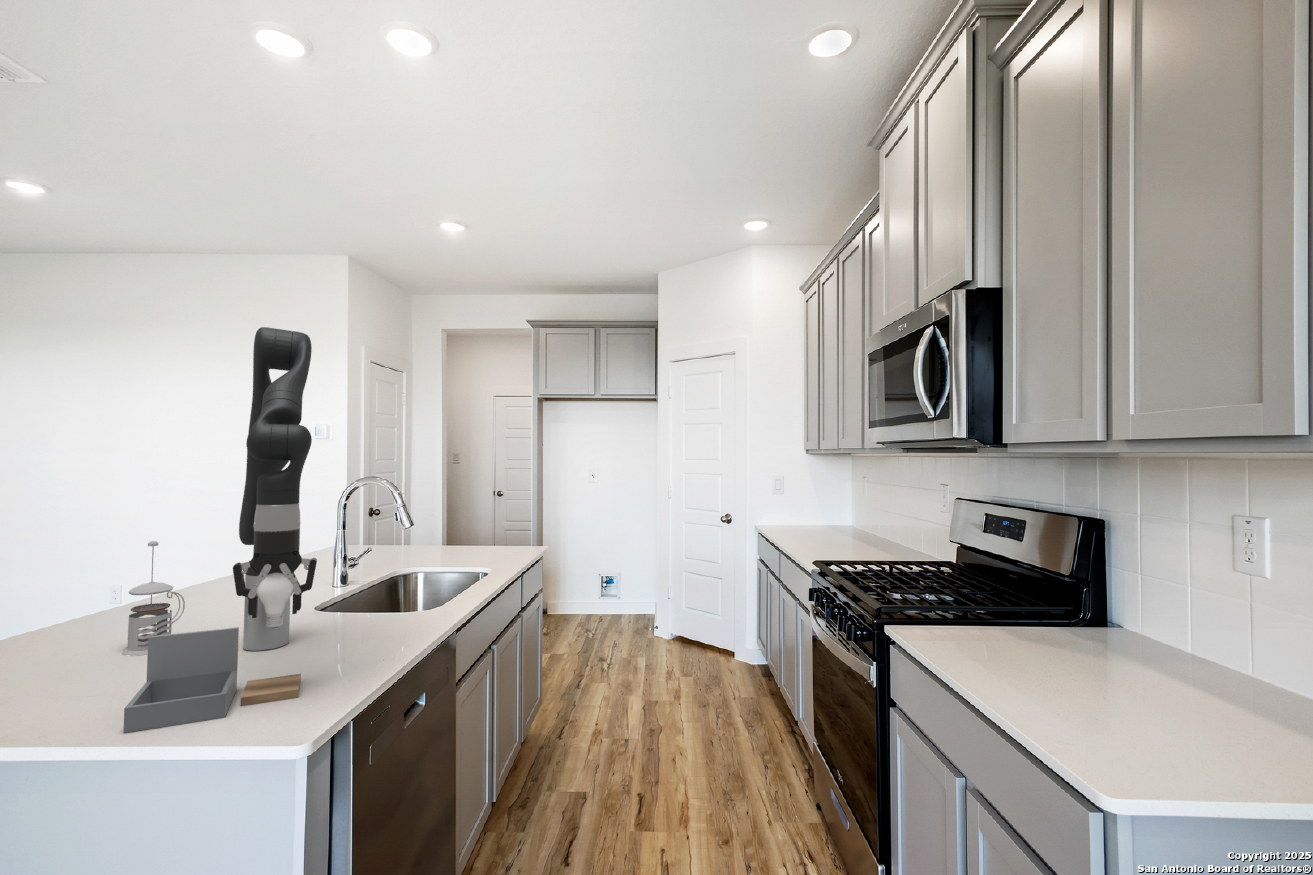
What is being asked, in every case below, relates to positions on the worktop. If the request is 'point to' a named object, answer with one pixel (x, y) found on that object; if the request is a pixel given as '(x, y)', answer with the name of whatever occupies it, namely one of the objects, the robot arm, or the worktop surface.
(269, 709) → the worktop surface
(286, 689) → the stand
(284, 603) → the lightbulb
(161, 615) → the french press
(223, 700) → the case
